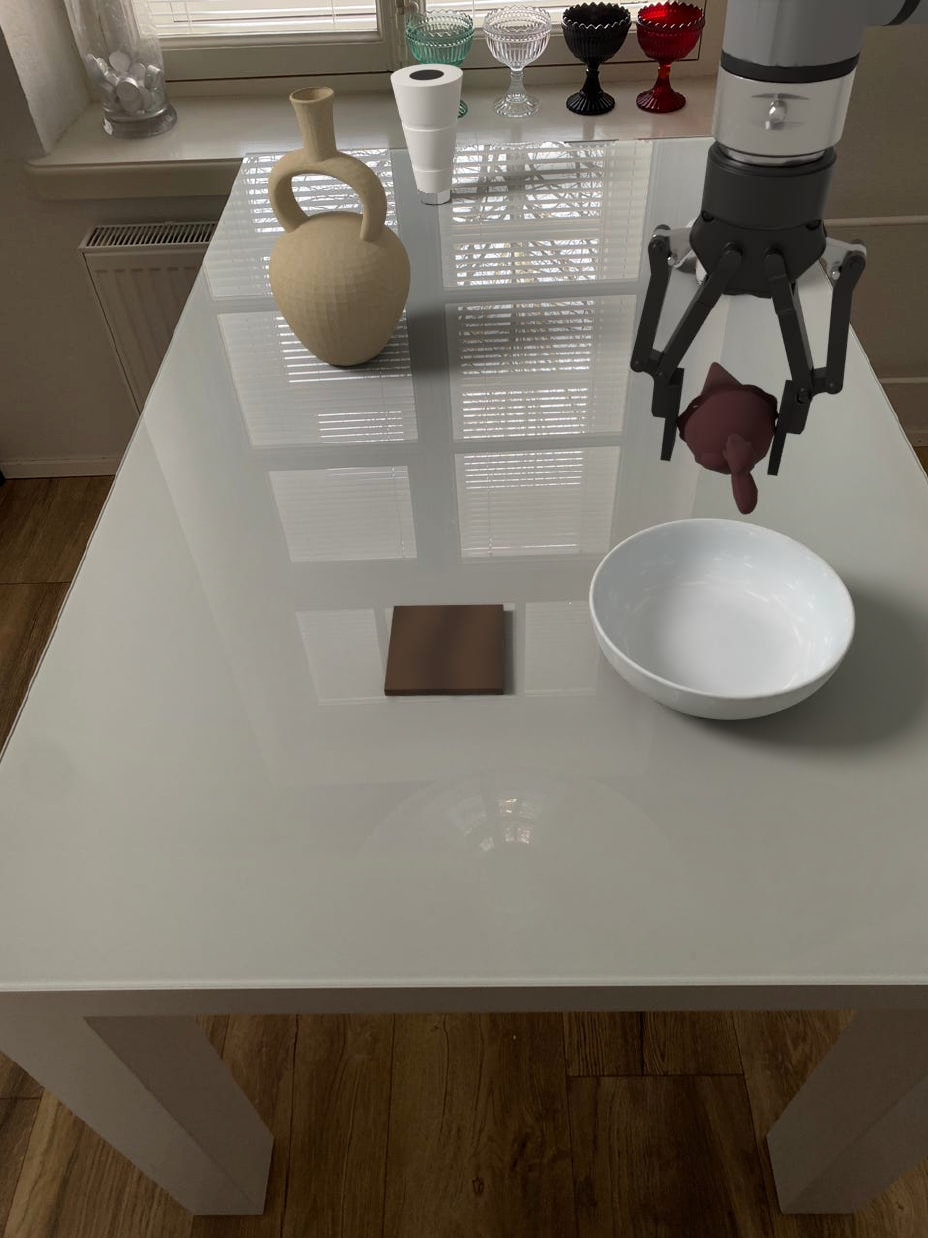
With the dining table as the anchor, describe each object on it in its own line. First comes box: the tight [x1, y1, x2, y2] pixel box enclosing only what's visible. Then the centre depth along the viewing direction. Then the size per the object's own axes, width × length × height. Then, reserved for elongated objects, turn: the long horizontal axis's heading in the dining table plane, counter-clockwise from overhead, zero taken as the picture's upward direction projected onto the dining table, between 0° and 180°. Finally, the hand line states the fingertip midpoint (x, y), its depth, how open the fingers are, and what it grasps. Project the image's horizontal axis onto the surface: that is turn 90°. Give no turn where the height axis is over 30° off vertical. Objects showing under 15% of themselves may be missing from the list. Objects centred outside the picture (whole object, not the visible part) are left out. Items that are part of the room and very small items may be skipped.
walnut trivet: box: [383, 603, 505, 696], centre depth 84 cm, size 10×10×1 cm
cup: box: [390, 63, 464, 193], centre depth 147 cm, size 11×11×18 cm
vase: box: [267, 86, 412, 367], centre depth 110 cm, size 17×17×30 cm
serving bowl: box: [588, 517, 857, 720], centre depth 80 cm, size 21×21×7 cm
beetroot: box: [676, 361, 779, 516], centre depth 71 cm, size 7×7×15 cm
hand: (720, 457), depth 73 cm, fingers closed on beetroot, 7 cm apart
